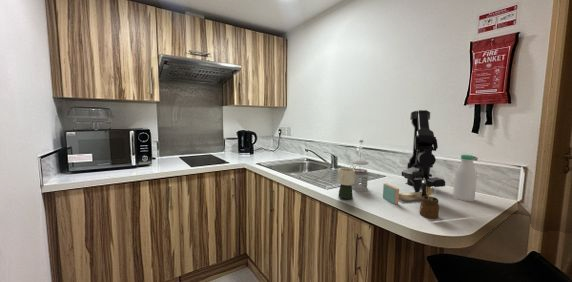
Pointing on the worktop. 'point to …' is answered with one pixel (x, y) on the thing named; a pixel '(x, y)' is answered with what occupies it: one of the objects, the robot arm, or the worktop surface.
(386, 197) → the tile
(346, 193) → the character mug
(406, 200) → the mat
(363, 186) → the french press
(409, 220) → the worktop surface
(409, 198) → the stick
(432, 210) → the utensil holder
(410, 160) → the robot arm
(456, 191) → the milk bottle
